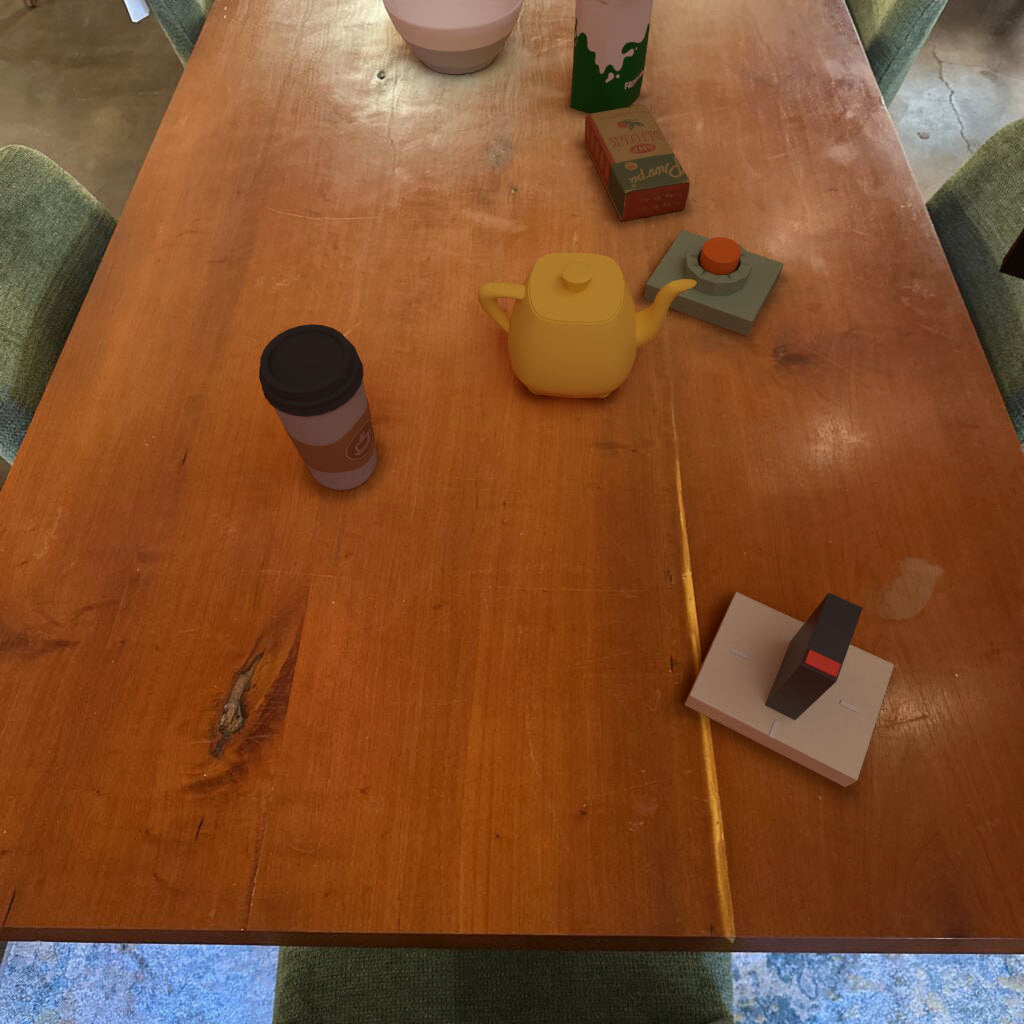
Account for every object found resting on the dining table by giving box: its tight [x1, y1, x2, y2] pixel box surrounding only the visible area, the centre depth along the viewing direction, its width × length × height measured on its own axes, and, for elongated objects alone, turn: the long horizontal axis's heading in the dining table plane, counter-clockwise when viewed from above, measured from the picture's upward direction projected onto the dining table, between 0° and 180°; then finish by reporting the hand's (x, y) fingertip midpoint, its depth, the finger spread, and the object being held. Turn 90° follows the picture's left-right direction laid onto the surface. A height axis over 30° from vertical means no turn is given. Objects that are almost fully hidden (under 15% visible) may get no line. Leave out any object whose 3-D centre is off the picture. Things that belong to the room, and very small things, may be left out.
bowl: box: [382, 0, 524, 75], centre depth 107 cm, size 20×20×8 cm
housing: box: [643, 229, 785, 337], centre depth 83 cm, size 12×10×4 cm
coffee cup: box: [258, 323, 378, 491], centre depth 67 cm, size 8×8×15 cm
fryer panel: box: [683, 591, 895, 788], centre depth 60 cm, size 13×10×3 cm
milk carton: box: [569, 0, 654, 114], centre depth 95 cm, size 9×9×20 cm
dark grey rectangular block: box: [765, 592, 863, 720], centre depth 55 cm, size 6×2×9 cm, turn 151°
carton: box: [584, 104, 691, 222], centre depth 93 cm, size 8×16×4 cm, turn 14°
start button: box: [700, 236, 741, 275], centre depth 81 cm, size 4×4×2 cm
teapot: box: [477, 251, 697, 399], centre depth 74 cm, size 13×20×12 cm
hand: (1022, 271), depth 51 cm, fingers closed
